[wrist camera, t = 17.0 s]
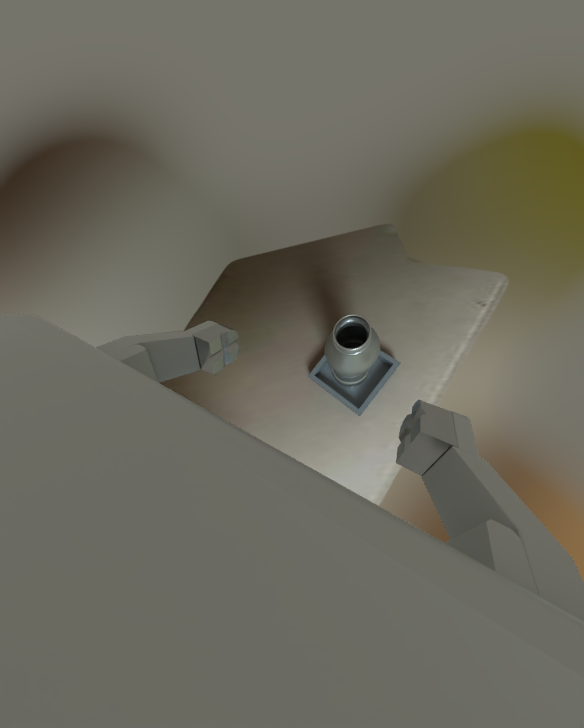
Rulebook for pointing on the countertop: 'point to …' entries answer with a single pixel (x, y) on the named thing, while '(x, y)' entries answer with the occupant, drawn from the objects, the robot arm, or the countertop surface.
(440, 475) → the robot arm
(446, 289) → the countertop surface
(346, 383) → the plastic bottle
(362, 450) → the countertop surface
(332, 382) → the holder
